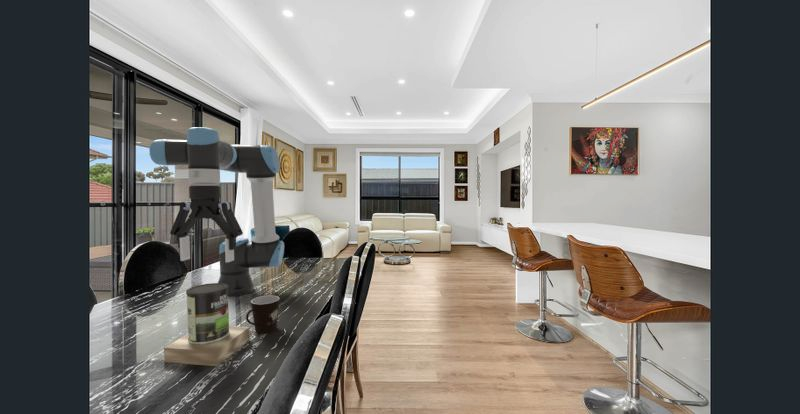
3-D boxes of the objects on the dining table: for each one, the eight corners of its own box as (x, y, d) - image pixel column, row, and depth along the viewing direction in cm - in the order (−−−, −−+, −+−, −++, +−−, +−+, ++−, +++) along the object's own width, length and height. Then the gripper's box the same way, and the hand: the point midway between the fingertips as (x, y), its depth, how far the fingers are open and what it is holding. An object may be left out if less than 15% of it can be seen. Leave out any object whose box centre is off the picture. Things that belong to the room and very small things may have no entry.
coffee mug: (273, 322, 114) (272, 293, 114) (284, 329, 108) (284, 299, 108) (237, 332, 106) (237, 301, 106) (247, 341, 100) (247, 308, 100)
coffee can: (237, 330, 98) (236, 283, 98) (211, 346, 88) (209, 294, 87) (207, 327, 100) (206, 281, 100) (178, 343, 90) (176, 292, 89)
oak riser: (204, 337, 103) (204, 324, 103) (249, 339, 101) (249, 327, 101) (164, 362, 88) (163, 347, 88) (216, 366, 86) (216, 351, 86)
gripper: (152, 184, 90) (156, 262, 91) (238, 184, 87) (240, 265, 88) (174, 184, 97) (177, 256, 98) (254, 185, 94) (256, 258, 95)
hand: (207, 260), depth 93 cm, fingers open, 13 cm apart
